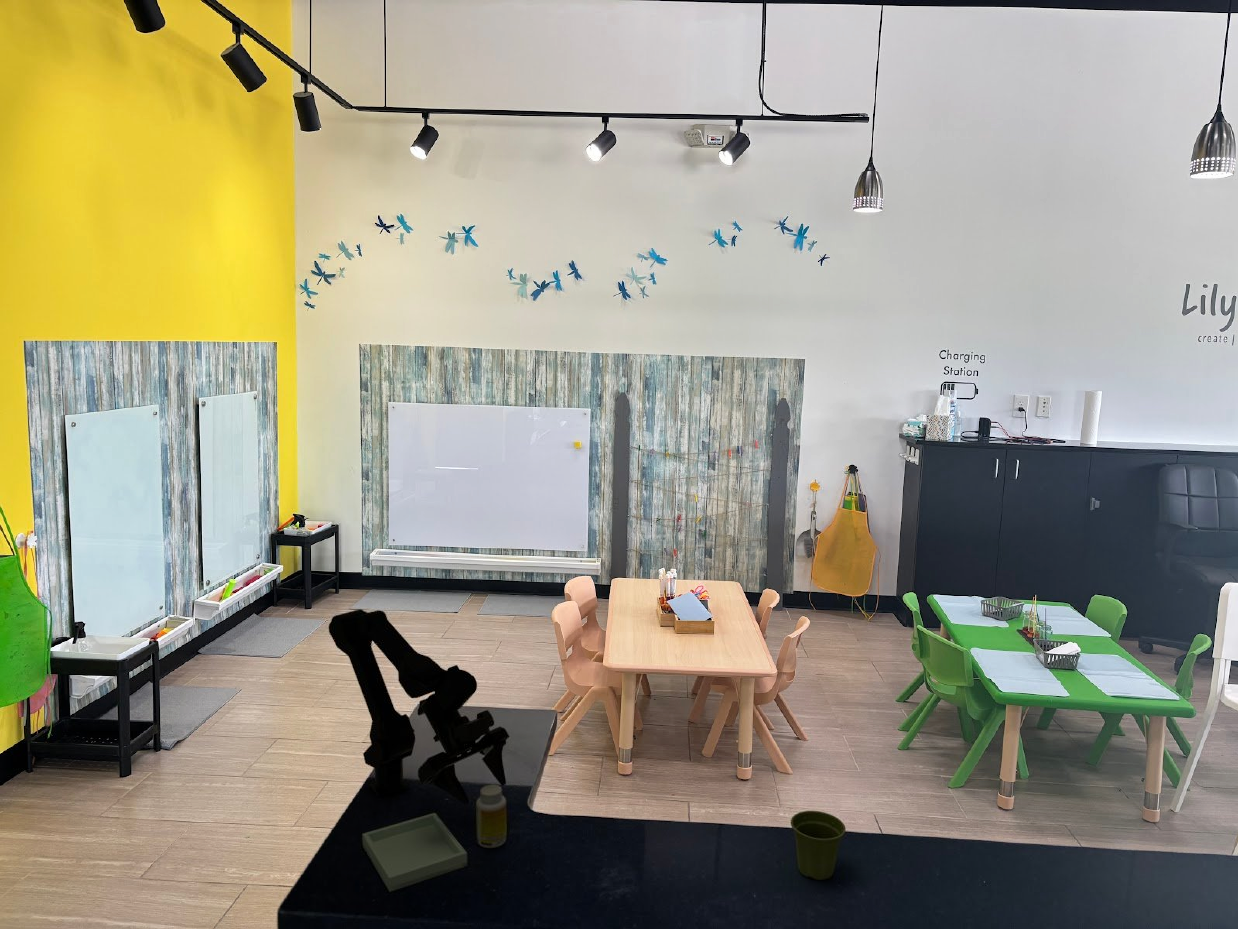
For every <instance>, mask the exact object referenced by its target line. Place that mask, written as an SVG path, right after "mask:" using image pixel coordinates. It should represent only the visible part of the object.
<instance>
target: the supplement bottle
mask: <svg viewBox="0 0 1238 929" xmlns="http://www.w3.org/2000/svg"><path fill="white" fill-rule="evenodd" d="M502 792H503V790H502V787H501V786H500V785H497V784H488V785H484V786H483V787H481V788H480V793H479V797H478V799H477V800H476V804H475V807H476V808H475V809H476V811H475V812H476V814H475V816H476V820H475V821H476V842H477V844H478V845H480V847H483V848H485V849H493V848H494V849H495V848H499V847H501V846H502V845H503V844H504V843H506V840H507V839H508V838H507V837H508V836H507V833H508V832H507V831H508V830H507V821H508V820H507V799H506V797H505V796H504V795H503V793H502Z"/></svg>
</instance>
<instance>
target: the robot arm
mask: <svg viewBox="0 0 1238 929" xmlns="http://www.w3.org/2000/svg"><path fill="white" fill-rule="evenodd" d="M328 634H329V635H330V637H331V638H332V640H333V642H334V645H335V647H336V648H337V649H338V650H340V651H341V652H342V653H343V654H345V655H346V656H348V659H349V661H350V664H351V666H352V669H353V672H354V675H355V677H356V680H357V682H358V686H359V688H360V692H361V693H362V696H363V699H364V702H365V704H366V707H367V711H368V712H369V715H370V719H371V725H370V729H369V730H370V731H369V739H370V743H371V744H370V745H369V746H368V747H367V748H366V750H365V751H364V752H363V754H362V755H363V760H364V763H365V764H366V765H367V766H369V767H371V768H373V769H374V779H375V780H374V781H370V783H369V786H370V787H371V788H372V790H373V792H374V793H375V794H376V796H377V797H378V798H381V797H385V796H389V795H393V794H398V793H401V792H405V791H408V790H409V789H410V786H409V785H408V784H407V782H406V781H405V780H404V762H403V760H404V759H405V758H408V757H410V756H412V754H413V750H414V746H415V742H416V734H415V729H414V728H413V726H412V724H411V720H410V717H409V716H408V714H406V713H404V714H401V713H400V712H398V710H396V709H395V707H394V704H393V700H392V698H391V696H390V692H389V690H388V688H387V686H386V682H385V679H384V677H383V674H382V672H381V669H380V666H379V663H378V661H377V659H376V656H375V653H374V651H373V648H372V643H374V645H375V646H376V647H377V648H378V650H380V651H381V653H382V654H383V655H384V656H385V657H386V658H387V659H388V661H389V662H390V663H391V665H393V667H394V668H395V669H396V671H397V676H398V678H397V679H398V683H399V684H400V686H401V687H402V689H403V690H404V692H405V693H406V695H407V696H408V697H409V698H411V699H418V698H421V697H423V696H426V695H428V696H427V698H424V699H422V700H419V704H418V708H417V715H418V716H422V715H425V717H426V718H427V720H428V722H429V725H430V726H431V728H432V730H433V732H434V734H435V735H434V736H433V738H432V739H433V741H434V742H435V743H437V742H439V743H440V744H441V747H442V748H443V750H444V751H441V752H438V753H437V754H434V755H432V756H430V757H428V758H427V759H426V760H425V761H424V762H423V763H422V764H421V765H420V767H419V768H418V770H417V777H418V779H419V782H420V783H421V784H422V785H425V784H426V783H428V785H429V786H431V787H432V786H436V787H437V788H439V789H441V790H443V791H444V792H446V793H448V794H449V795H450V796H452V797H454V798H455V799H456V800H458V801H459V802H460V803H461V804H463V805H464V806H467V805H468V804H469V803H470V801H469V798H468V796H467V794H466V792H465V789H464V788H463V786H462V784H461V783H460V782H461V781H459V779H458V777H457V775H456V769H455V768H456V766H455V764H457V763H458V762H461V761H463V760H465V759H468V758H469V757H472V756H473V755H476V754H480V755H483V757H482V758H481V760H482V762H483V763H484V764H485V765H486V767H487V768H488V769H489V771H490V772H491V774H492V775H493V777H494V778H495V779H496V781H497V782H498V783H499V784H500V785H501V786H505V785H506V784H507V778H506V773H505V768H504V761H503V748H504V746H506V745H507V740H508V739H509V738H510V734H509V733H508V731H507V729H506V728H505V727H502V726H498V727H496V728H493V729H490V728H491V727H493V726H494V725H495V720H494V717H493V715H492V713H490V711H489V709H486V710H483V711H481V712H478V713H477V714H476V718H475V719H473V720H470V719H469V717H468V716H466V715H463V716H462V714H460V712H459V710H460V709H462V707H463V706H464V705H465V704H466V703H467V702H468V700H469V699H470V698H471V697H473V695H474V694H475V693H476V691H477V690H478V689H477V688H478V681H477V680H476V678H475V676H474V675H473V674H471V672H469V671H467V670H464V669H460V667H459V665H458V664H455V665H453V666H449V667H448V668H447V669H445V668H442V667H441V665H439V664H438V663H437V662H436V661H435V660H434V659H432V658H431V657H430V656H428V655H425V654H422V653H419V652H418V651H416V650H415V649H414V648H413V646H412V645H410V643H409V642H408V640H406V639H405V637H404V636H403V635H402V634H401V633H400V632H399V631H398V630H397V629H396V627H395V626H394V625H393V624H392V623H391V621H390V620H388V616H387V614H386V612H385V611H383V610H379V609H377V610H374V611H370V612H369V611H368V612H367V611H365V610H363V609H361V608H360V609H359V608H358V609H355V610H351V611H348V612H345V613H340V614H335V615H334V616H332V617H331V620H330V622H329V624H328ZM429 694H430V695H429Z"/></svg>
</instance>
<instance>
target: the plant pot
mask: <svg viewBox="0 0 1238 929" xmlns="http://www.w3.org/2000/svg"><path fill="white" fill-rule="evenodd" d="M790 826H791V828H792V831H793V834H794V837H795V846H796V855H797V857H796V858H797V865H798V866H797V868H798V870H799V872H800V873H801V874H802V875H803V876H804V877H806V878H808V877H810V878H813V879H814V880H818V881H822V880H827V879H830V878H831V877H832V876H833V875H834V872H835V868H836V862H837V858H838V852H839V847H840V843H841V841H842V840H843V836H845V833H846V826H845V824H844V823H843V821H842V820H841V819H840V818H838V817H836V816H835V815H833V814H830V813H827V812H824V811H819V810H803V811H799V812H797V813H795V814H794V815H793V816H792V817H791V819H790Z"/></svg>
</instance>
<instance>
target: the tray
mask: <svg viewBox="0 0 1238 929" xmlns="http://www.w3.org/2000/svg"><path fill="white" fill-rule="evenodd" d="M362 848H363V849H364V851H365V853H366V852H367V853H366V854H367V856H368V857H369V858H368V859H371V860H370V861H371V863H372V864H373V867H374V868H375V870H376V872H377V873H378V875H379V876H380V878H381V880H382V882H383V883H384V885H385V887H386V888H387V890H388V892H389V893H390V892H394V891H397V890H399V889H402V888H406V887H408V886H412V885H415V884H419V883H421V882H423V881H427V880H429V879H432V878H435V877H439V876H442V875H445V874H448V873H451V872H454V871H457V870H460V869H462V868H466V867H467V866H468V852H467V851H466V850H465V849H464V847H463V846H462V845H461V844H460V842H458V840H457V839H456V837H455V836H454V835H453V834H452V832H451V831H450V830H449V828H448V827H447V826H446V825H445V823H444V822H443V821H442V819H441V818H440V817H439V816H438V814H437V813H436V812H433V813H429V814H427V815H423V816H419V817H416V818H412V819H410V820H406V821H402V822H399V823H396V824H392V825H389V826H385V827H381V828H378V829H374V830H371V831H367V832H365V833H362ZM465 866H466V867H465Z"/></svg>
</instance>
